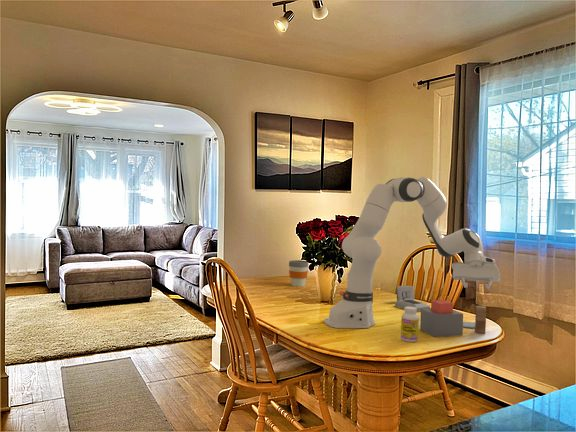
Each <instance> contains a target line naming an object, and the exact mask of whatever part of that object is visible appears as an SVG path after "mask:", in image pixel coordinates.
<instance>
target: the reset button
mask: <svg viewBox="0 0 576 432" xmlns="http://www.w3.org/2000/svg"><path fill="white" fill-rule="evenodd" d="M453 303H454V302H451V301H449V300H445V299H435V300H433V299H431V300H430V308H431V310H432V311H434V312H437V313H439V314H441V313H453V310H454V304H453Z"/></svg>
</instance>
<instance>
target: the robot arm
mask: <svg viewBox="0 0 576 432" xmlns="http://www.w3.org/2000/svg"><path fill="white" fill-rule="evenodd" d="M414 201H417V203H418V205H420V206H421V208H422V215H421V217H422V220H423V224H424V225H425V227H426V230H427V231H428V233H429V235H430V237H431V239H432V240H433V243H434V245H435V247H436V250H437V252H438V254H439V255H440V256H442V257H444V258H448V259H449V258H451V257H454V256H455V255H457V254H460V253H462V252H463V254H464V255H463V256H464V257H463V259H464V261H461V262H458V261H454V262H453V263H452V264H451V269H452V279H453V280H455V281H460V282H461V283H462V285H463V288H466V289H467V288H468V286H469V285H468V282H466V281H470V282H471V281H472V282H487V283H486V284H485V288H486V289H487V290H490V289H491V285H492V283H499V282H500V280H501V272H500V269H499V267H498V265H497V264H496V259H494V258H490V257H488V256H485V254H484V245H483V242H482V239H481V235H479V234H478V233H476V232H475V231H474V230H471V229H469V228H468V227H467V228H466V227H465V228H461V229H458V230H456V231H454V232H453V233H450V234H448V235H443V234H442V232H441V230H440V228H439V226H438V224H437V221H438V219H440V217H441V216H442V215H443V214H444V212H445V211H446V209H447V205H448V202H447V198H446V197H445V195H444V194H443V192H442V191H441V190H440V188H439V187H438V186H437V185H436V184H435V183H434V182H433V181H432V180H431V179H430V178H428V177H425V176H422V177H418V178H414V177H398V178H392V179H390V180H388V181H387V182H386V183H377V184H376V185H374V187H373V188H372V189H371V191H370V193H369V194H368V196H367V199H366V201H365V204H364V205H363V208H362V211H361V213H360V216H359V217H358V220H357V221H356V223H355V224H354V226H353V227H352V229H351V230H350V232H349V234H348V235H347V236H346V237H345V238H343V240H342V243H341V249H342V251H343V252H344V253H345V255H346V256H347V257H349V258H350V259H351V258H352V260H351V261H352V262H351V266H350V269H349V270H348V271H347V278H346V279H347V282H346V290H345V291H344V290H343V291H342V290H339V292H338V294H339V296H342V299H341V300H339V302H337V303H336V304H335V305H333V306H331V308H330V310H329V314H328V317H325V318H324V319H323V323H324V324H325V325H327V326H328V327H331V328H334V329H370V328H371V327H372V326H374V325H375V324H376V323H375V318H374V313H373V302H374V292H373V276H374V272H375V271H374V270H375V267H376V265H377V264H376V263H377V262H378V261H377V260H378V259H379V258H380V256H381V255H382V246H381V244H380V243H379V241H377V240H376V239H375V237H376V235H377V234H378V233H379V231H381V230H382V229H383V227H384V225H385V223H386V220H387V218H388V215H389V213H390V209H391V206H392V205H393V204H394V203H395V202H399V203H408V202H409V203H411V202H414Z"/></svg>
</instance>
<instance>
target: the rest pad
mask: <svg viewBox="0 0 576 432" xmlns="http://www.w3.org/2000/svg"><path fill="white" fill-rule="evenodd" d="M463 329H472V330H473V329H474V330H475V322H472V321H463Z"/></svg>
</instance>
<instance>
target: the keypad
mask: <svg viewBox="0 0 576 432" xmlns="http://www.w3.org/2000/svg"><path fill="white" fill-rule="evenodd" d="M414 300H415V299H414ZM414 300H410V299H406V300H398V301H397V300H396V301H395V303H394V307H396V308H399V309H403V310H404V308H405V307H407V306H410V307H416V308H417V311H416V313H421V309H429V308H431V305H429V304H427V303H425V302H421V301H417V300H415V301H414Z"/></svg>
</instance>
